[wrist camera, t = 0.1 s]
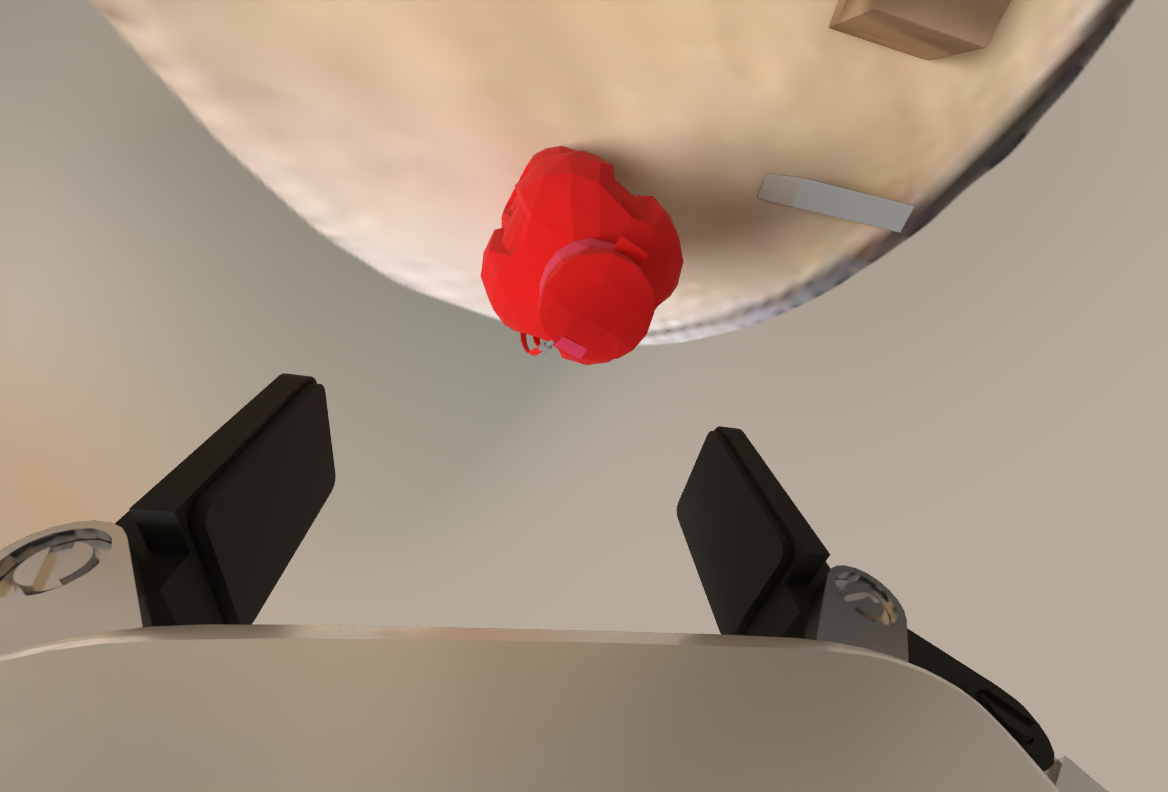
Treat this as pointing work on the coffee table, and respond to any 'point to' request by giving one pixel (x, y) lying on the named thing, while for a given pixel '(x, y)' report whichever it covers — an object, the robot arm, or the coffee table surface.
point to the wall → (835, 201)
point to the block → (921, 24)
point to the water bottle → (580, 259)
